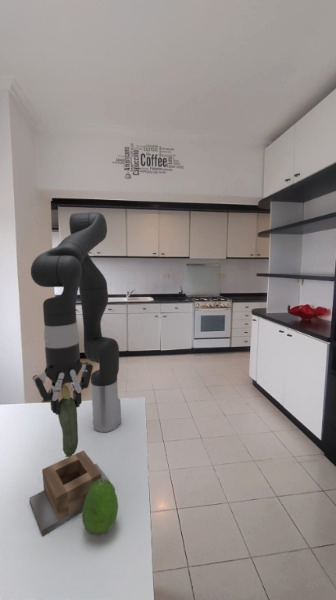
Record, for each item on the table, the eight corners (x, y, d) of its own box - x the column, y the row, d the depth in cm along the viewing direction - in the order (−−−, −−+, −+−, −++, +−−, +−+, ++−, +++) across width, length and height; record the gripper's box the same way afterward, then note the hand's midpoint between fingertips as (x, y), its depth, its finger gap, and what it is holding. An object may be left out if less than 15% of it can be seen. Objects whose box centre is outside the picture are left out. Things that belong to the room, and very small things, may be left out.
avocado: (120, 539, 60) (118, 490, 58) (83, 550, 57) (79, 500, 56) (116, 507, 67) (115, 463, 65) (83, 516, 65) (80, 471, 63)
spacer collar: (96, 468, 80) (95, 444, 79) (115, 492, 72) (113, 466, 71) (29, 503, 69) (27, 476, 68) (42, 536, 60) (39, 506, 59)
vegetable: (83, 454, 70) (78, 380, 67) (72, 466, 66) (66, 388, 63) (68, 450, 72) (63, 378, 69) (57, 462, 68) (51, 385, 65)
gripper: (85, 333, 72) (88, 394, 74) (25, 344, 63) (31, 413, 65) (97, 339, 66) (100, 405, 68) (33, 352, 57) (39, 428, 59)
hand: (66, 409), depth 67 cm, fingers closed on vegetable, 4 cm apart
